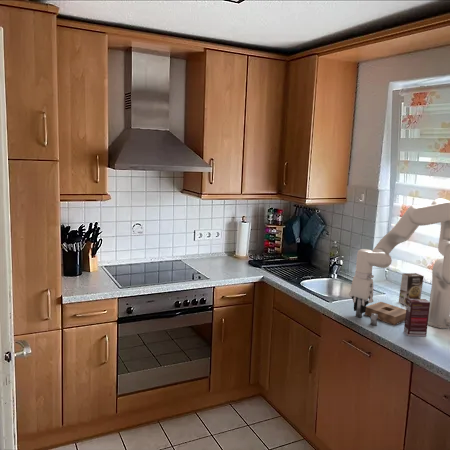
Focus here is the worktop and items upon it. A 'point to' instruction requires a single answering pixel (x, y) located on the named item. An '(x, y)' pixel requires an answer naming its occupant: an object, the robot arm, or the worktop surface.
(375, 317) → the short pin
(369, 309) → the hole block
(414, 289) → the coffee box
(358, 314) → the long pin
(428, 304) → the supplement box
